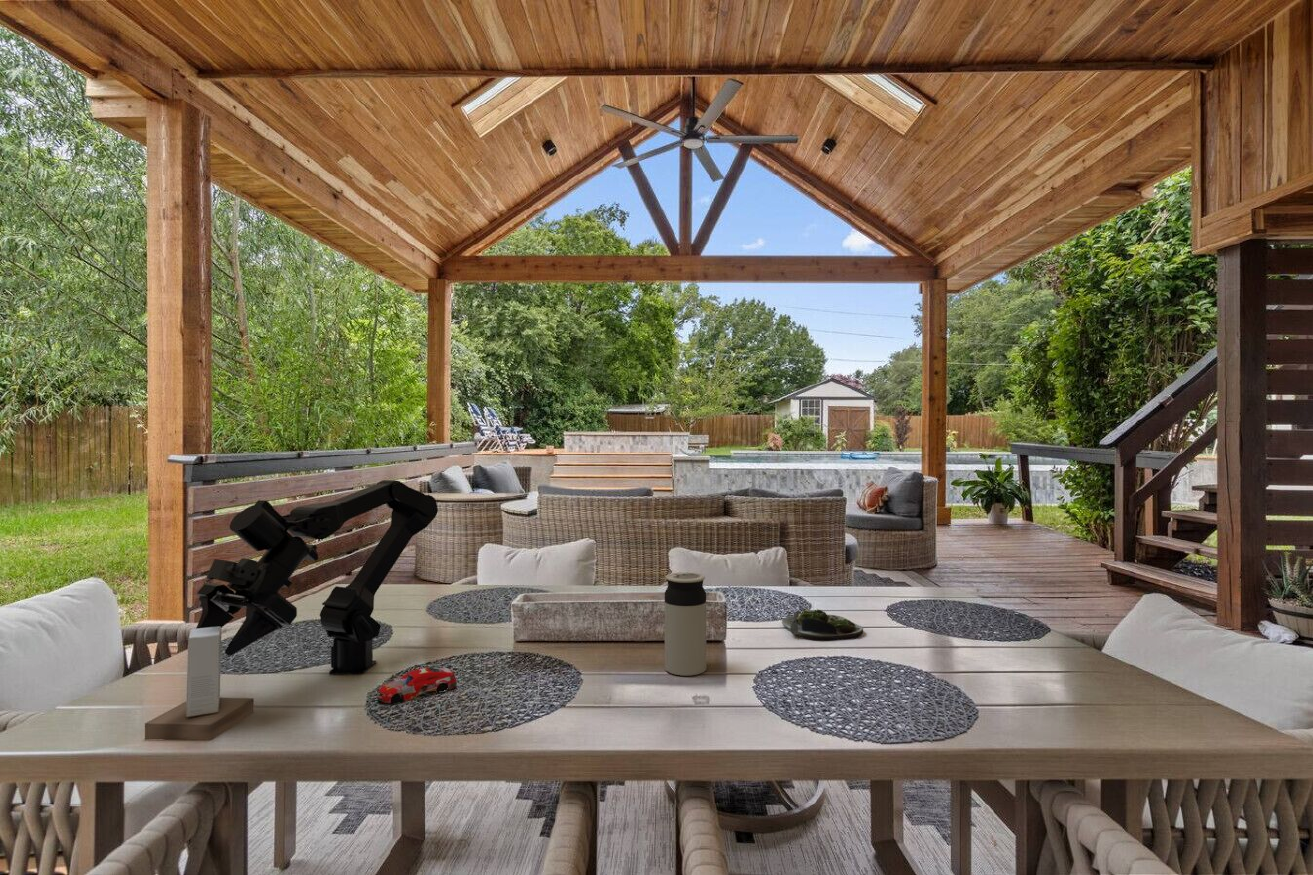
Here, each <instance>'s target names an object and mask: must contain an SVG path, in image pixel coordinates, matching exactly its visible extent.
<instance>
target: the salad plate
mask: <svg viewBox="0 0 1313 875" xmlns="http://www.w3.org/2000/svg"><path fill="white" fill-rule="evenodd" d="M781 624H782V625H783V627H785V628H786V629H787V630H789V631H790V632H791V633H792V634H793V635H794V636H796V637H798V638H800V639H804V640H808V641H809V640H810V641H814V642H815V641H816V642H833V641H847V640H853V639H857V638H859V637H860V636H861V635H863V633H864V627H863V626H861V625H859V624H857V623H855V622H853V621H851V620H850V619H847V618H846V617H843V616H840V615H835V614H827V612H826V611H824V610H821V609H819V608H817V609H814V610H809V609H808V608H806V609H804V610H803V612H801V611H793V616H787V617H784V618H782V619H781Z"/></svg>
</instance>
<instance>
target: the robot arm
mask: <svg viewBox="0 0 1313 875" xmlns="http://www.w3.org/2000/svg"><path fill="white" fill-rule="evenodd" d="M384 505H386V506H387V508H389V509H390V510H391V513H390V526H389V528H388V529H387V530H386V532H385V533H384V535H383V536H382V538H381V539H380V540H379V542H378V543H377V545H376V546H375V547H374V549H373V551H372V552H371V554H370V555H369V557H368V558H367V560H365V563H364V564H363V565H362V567H361V568H360V569H359V571H358V572H357V574H356V575H355V577H354V578H353V580H352V581H351V582H350V584H348V585H347V586H335V587H334V588H333V589H332V590H331V592H330V594H329V595H328V597H327V598H326V600H324V601H323V602H322V603H321V605H322V606H323V607H322V608H321V610H320V612H319V617H320V624H321V626H322V628H324V631H325V632H326V635H327V638H333V639H332V645H331V646H330V667H331V669H330V670H329V671H328V674H329V675H362V674H363V675H364V674H365V673H366V672H367V671H368V670H370V669H371V668H372V667H374V666H375V665H376V664H377V660H375V659H374V660H373V658H374V657H373V653H374V650H373V642H374V639H375V638H377V637H379V635H380V631H381V628H382V626H381V623H379V622H377V621H376V620H375V618H373V617H372V614H373V611H374V610H375V609H374V607H375V606H374V604H375V595H376V593H377V592H378V590H379V589H380V587H381V586H382V584H383V583H384V581H385V579H386V578H387V576H388V575H389V574H390V572H391V570H392V568H393V567H394V566H395V564H396V562H397V561H398V560H399V558H400V556H401V555H402V553H403V551H404V550H406V549H405V548H406V547H407V545H408V544H409V543H410V541H411V539H412V538H413V537H414V536H416V535H417V534H418V533H420V532H422V531H423V530H425V529H426V528H428V527H429V525H430V524H431V523H432V522H433V520H434V519H435V518H436V517H437V515H438V512H439V509H438V503H437V500H436V498H435V497H434V496H433V495H430V494H425V493H424V492H421V491H419V490H416V489H415V488H412V487H409V486H407V484H405V483H403V482H401V481H400V480H393V479H392V480H390V479H384V480H380V481H378V482H377V483H375V484H372V485H371V486H367V487H365V488H363V489H360V490H358V491H355V492H353V493H350V494H348V495H345V496H343V497H342V496H341V497H339V498H337V499H334V500H330V501H327V502H325V501H324V502H315V503H310V504H306V505H300V506H299V505H298V506H296V507H295V508H292V509H291V510H290V512H289V514H288V513H287V514H284V515H281V514H280V513H279V512H278V511H277V510H276V509H275V508H274V506H273V505H272V504H271V503H270V502H269V501H268V500H261V499H260V500H259V499H258V500H257V501H256V502H255V503H254V504H253V505H251V506H248V507H247V508H245V509H244V510H242V511H240V512H238V513H237V514H236V515H234V517H233V518H232V519H231V521H230V524H229V529H230V531H231V532H232V533H234V534H235V535H236V536H237V537H238V538H240V539H241V540H242V541H243V542H244V543H245V544H247V545H248V546H249V547H250V548H251V549H253V551H255V552H261V551H265V552H264V553H263V555H262V556H261V557H260V558H259V559H258V561H257V560H254V559H250V558H245V557H242V558H241V559H240V560H239V561H231V560H224V559H218V558H214V559H213V561H212V564H211V566H210V567H209V570H208V572H207V575H206V576H205V578H206V579H209V580H211V581H212V580H218V581H222V582H226V583H228V584H227V585H225V584H223V583H217V582H208V583H204V584H203V585H202V587H200V589H199V590H198V591H197V592H196V596H198V602H199V603H201V610H202V611H201V614H200V617H199V620H198V623H197V625H196V627H195V629H198V628H208V627H219V626H220V627H221V629H222V628H223V627H224V626H226V625H227V624H229V623H230V622H231V621H232V620H233V619H235V617H234V616H233V615H236V614H237V613H238V612H240V611H241V609H246V611H245V620H244V621H243V623H242V624H241V625H240V627H239V629H238V630H237V631H236V633H235V635H234V636H233V638H232V639H231V641H230V642H229V643H228V645H227V647H226V648H225V651H224V654H226V655H227V656H228V657H232V656H234V655H235V654H236V653H238V652H240V651H241V650H243V649H245V648H246V647H248V646H250V645H252V644H253V643H255V642H257V641H258V640H260V639H262V638H264V637H266V636H267V635H269V634H271V633H273V632H274V631H277V630H282V629H283V628H284V626H291V625H292V623H293V622H294V620H295V619H297V617H298V607H296V606H295V605H294V604H292V603H291V601H289V600H288V599H286V598H285V597H284V596H283V595H281V593H279V592H280V591H281V590H282V588H288V589H289V588H290V586H291V585H292V584H293V582H292V581H291V580H290V578H291V577H292V575H293V574H294V573H295V572H296V570H297V569H298V568H299V566H300V565H302V563H303V561H304V560H308V561H315V562H316V561H319V554H318V551H317V545H316V544H309V543H307V542H306V541H305V540H304V539H311V540H324V539H327V538H329V537H330V536H331V535H333V534H335V533H336V532H337V531H339V530H340V529H342V527H343V526H344V524H345V523H347V522H348V521H349V520H352V519H354V518H356V517H359V516H361V515H363V514H366V513H367V512H370V511H372V510H374V509H377V508H379V507H382V506H384Z"/></svg>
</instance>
